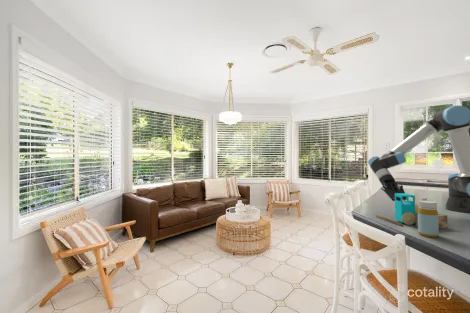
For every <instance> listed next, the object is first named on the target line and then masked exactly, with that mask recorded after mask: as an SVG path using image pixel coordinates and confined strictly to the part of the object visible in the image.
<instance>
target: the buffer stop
mask: <svg viewBox="0 0 470 313" xmlns="http://www.w3.org/2000/svg"><path fill="white" fill-rule="evenodd" d="M438 225H439V229H447V228H448V215H447V214H443V213H438ZM415 228H416V229H418V215H416V223H415Z"/></svg>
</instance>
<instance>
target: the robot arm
mask: <svg viewBox="0 0 470 313" xmlns="http://www.w3.org/2000/svg"><path fill="white" fill-rule="evenodd" d="M469 128H470V108H468V107H466V106H464V105H452V106H449V107H446V108H444V109H440V110H438V111H437V112H435V113H434V114H433V115H431V116H430V117H429V118H428V119H427V120H426V121H424V122H423V124H422V126H421V127H419V128H418V129H416V130H415V131H413V133H411V134H410V135H409V136H407V137H406V138H405V139H403V140H401V141H400V142H399V143H398V144H397V145H395V146H394V147H393V148H392V149H390V150H389V151H387V152H386V153H384V154H382V155H381V156H380V157H379V156H377V155H376V156H372V157H371V158H369V159H368V161H367V163H368V165H369V167H370V169H371V170H372V172H373V174H375V176H376V178H377V179H378V181H379V182H380V185H382V186H381V187H380V190H382V191H383V192H384V193H385V194H386V195H387V197H389V198H390V200H392V202H395V193H406V192H405V190H404V186H403V185H402V184H401V185H399V184H398V183H397V182H396V180H395V178H394V176H393V175H392V172H390V170H389V169H391V168H394V167H396V166H399V165H402V164H404V163H405V164H406V162H407V158H406V156H405V155H406V154H408V153H409V152H411V151H412V150H414V148H416V147H417V146H418V145H419V144H422V142H424V141H425V140H427V139H428V138H429V137H430V136H432V135H433V134H434V135H435V134H437V133H439V132H440V131H443V133H445V134H447V135H448V138H449V141H450V144H451V148H452V151H453V154H454V157H455V161H456V164H457V166H458V170H459V173H458V172H457V173H450V174H449V175H448V179H447V181H448V185H447V186H448V197H447V200H446V203H445V205H444V208H445V209H446V210H448V211H453V212H458V213H459V212H461V213H470V133H469ZM397 200H398V201H401V198H400V197H397ZM403 203H407V199H406V197H403Z"/></svg>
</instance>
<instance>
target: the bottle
mask: <svg viewBox="0 0 470 313" xmlns="http://www.w3.org/2000/svg"><path fill="white" fill-rule="evenodd" d="M418 204H419V209H418V228H417V233H418V234H419V235H420V236H423V237H425V238H426V237H427V238H437V237H439V234H440V233H439V232H440V230H439V229H440V228H439V225H438V214H439V211H438V209H437V207H438V204H437V201H433V200H428V199H427V200H422V199H421V200H418Z"/></svg>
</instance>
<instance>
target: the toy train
mask: <svg viewBox="0 0 470 313" xmlns="http://www.w3.org/2000/svg"><path fill="white" fill-rule="evenodd" d="M397 197H400V198H401V201H398V200H397ZM403 197H406V202H407V203H403ZM409 198H412V200H410V199H409ZM420 199H421V200H428V197H425V196H424V197H422V196H421V197H420ZM418 209H419V202H418V203H416V195H415V194H412V193H406V192H405V193H395V201H394V219H395V221H397V222H399V223H402V224H405V225H407V226H411V225H414V224H416V215H418Z"/></svg>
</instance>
